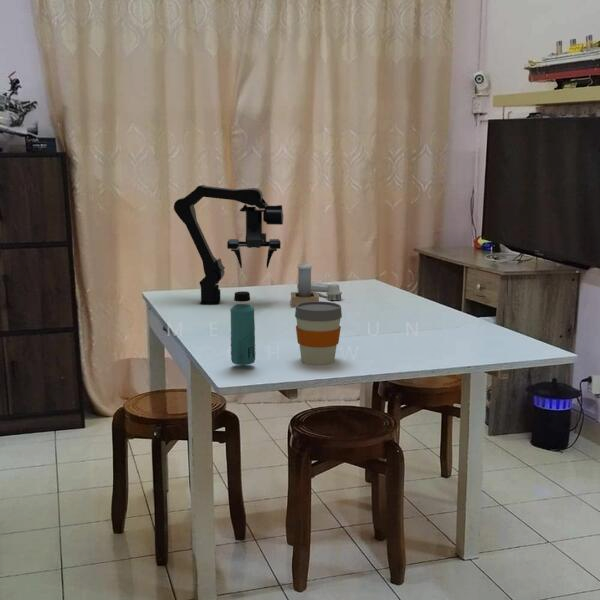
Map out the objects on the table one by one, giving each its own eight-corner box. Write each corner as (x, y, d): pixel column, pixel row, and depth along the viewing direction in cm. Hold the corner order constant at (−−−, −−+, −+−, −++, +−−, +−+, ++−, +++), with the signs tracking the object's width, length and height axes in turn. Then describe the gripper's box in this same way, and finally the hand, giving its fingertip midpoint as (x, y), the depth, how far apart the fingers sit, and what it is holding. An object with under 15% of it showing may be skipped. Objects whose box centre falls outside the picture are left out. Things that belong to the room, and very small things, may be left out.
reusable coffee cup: (296, 367, 209) (296, 311, 206) (292, 354, 221) (293, 301, 218) (344, 366, 210) (345, 310, 207) (337, 353, 222) (338, 300, 219)
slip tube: (302, 305, 282) (302, 266, 279) (294, 302, 287) (294, 264, 284) (314, 303, 285) (314, 264, 282) (306, 301, 289) (307, 262, 286)
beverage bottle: (249, 371, 204) (248, 295, 200) (226, 368, 207) (225, 293, 203) (259, 365, 210) (259, 290, 206) (237, 362, 213) (236, 288, 209)
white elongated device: (306, 280, 314) (344, 281, 293) (307, 297, 314) (345, 299, 293) (295, 281, 311) (332, 282, 290) (296, 298, 312) (333, 300, 291)
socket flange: (291, 307, 281) (291, 297, 280) (290, 301, 291) (290, 292, 290) (319, 307, 281) (319, 297, 280) (317, 301, 291) (317, 292, 290)
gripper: (226, 226, 273) (226, 271, 276) (280, 226, 274) (280, 271, 277) (227, 223, 284) (228, 266, 287) (280, 223, 285) (280, 266, 288)
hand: (254, 268), depth 284 cm, fingers open, 9 cm apart
